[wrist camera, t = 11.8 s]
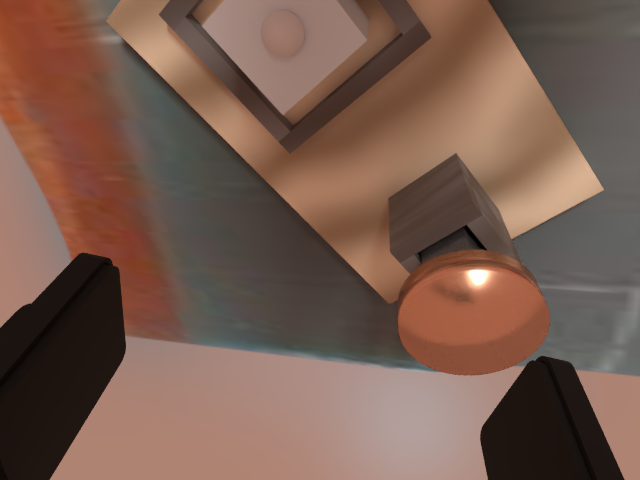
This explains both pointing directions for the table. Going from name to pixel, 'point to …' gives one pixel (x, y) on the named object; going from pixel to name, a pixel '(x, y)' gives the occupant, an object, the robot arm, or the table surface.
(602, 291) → the table surface
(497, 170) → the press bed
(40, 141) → the table surface
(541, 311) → the disc
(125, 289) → the table surface
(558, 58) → the table surface
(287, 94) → the block
